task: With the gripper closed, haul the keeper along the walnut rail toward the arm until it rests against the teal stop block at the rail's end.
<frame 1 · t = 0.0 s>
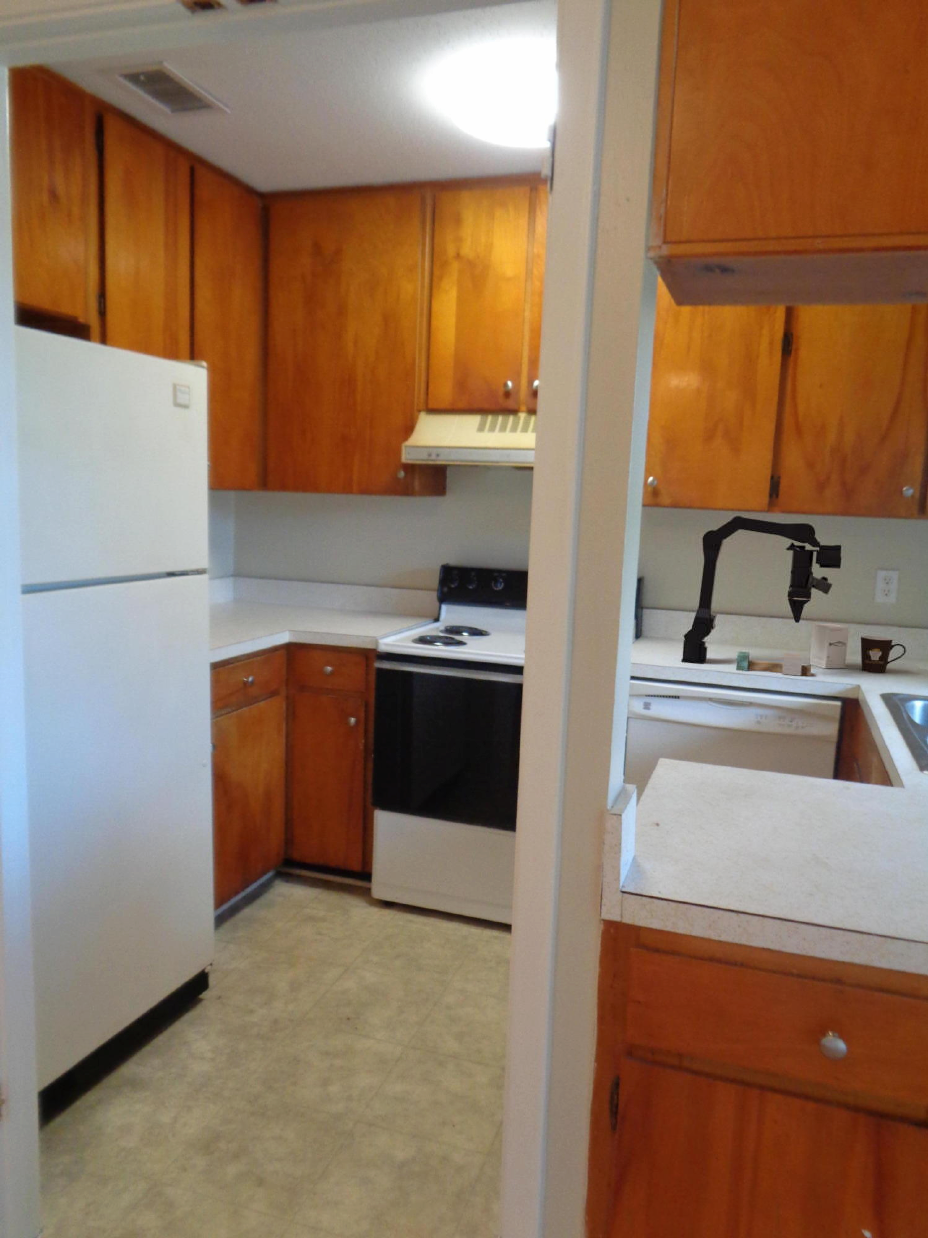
hand: (797, 620, 259), 15 cm above the worktop, tool pointing down, fingers open, 9 cm apart
track: (773, 671, 258), on the worktop
keeper: (792, 664, 256), point 3 cm above the worktop, slide at 0.0 cm
coffee mug: (878, 672, 264), on the worktop
supplement box: (827, 667, 271), on the worktop
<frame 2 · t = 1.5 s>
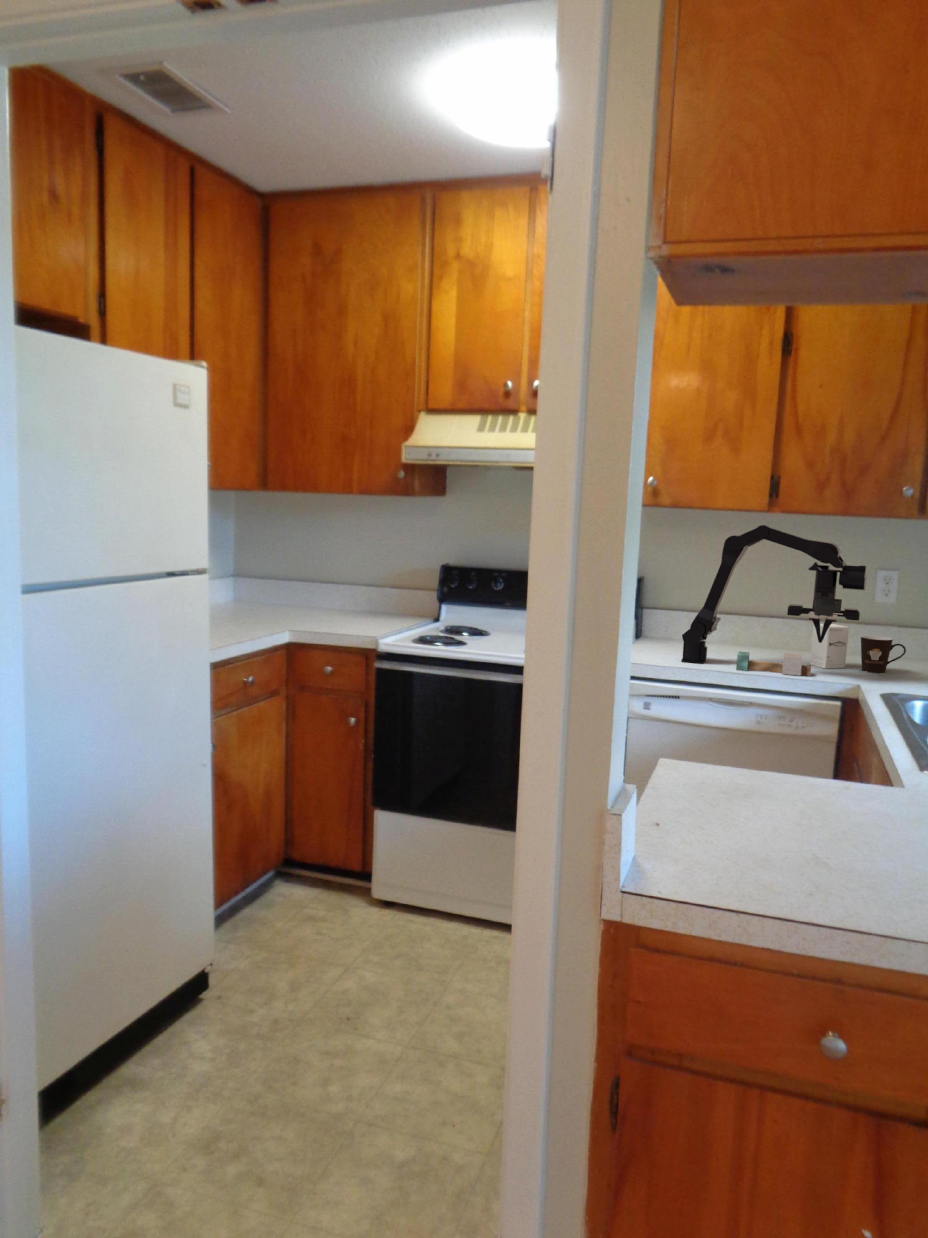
hand: (820, 642, 253), 10 cm above the worktop, tool pointing down, fingers closed
nothing on the worktop moved.
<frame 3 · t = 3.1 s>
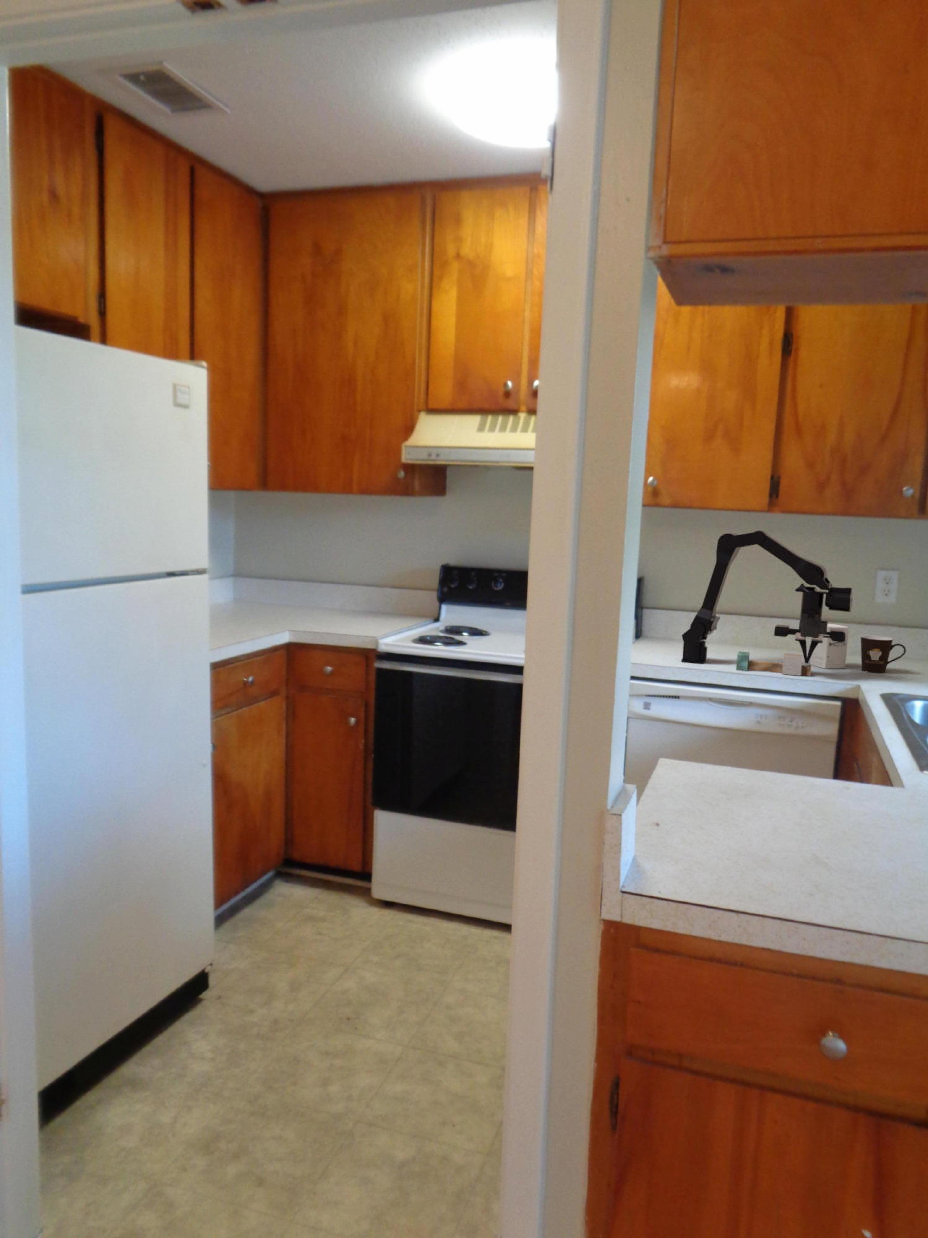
hand: (806, 663, 255), 3 cm above the worktop, tool pointing down, fingers closed
keeper: (792, 664, 256), point 3 cm above the worktop, slide at 0.0 cm, touching gripper
everything else where it was.
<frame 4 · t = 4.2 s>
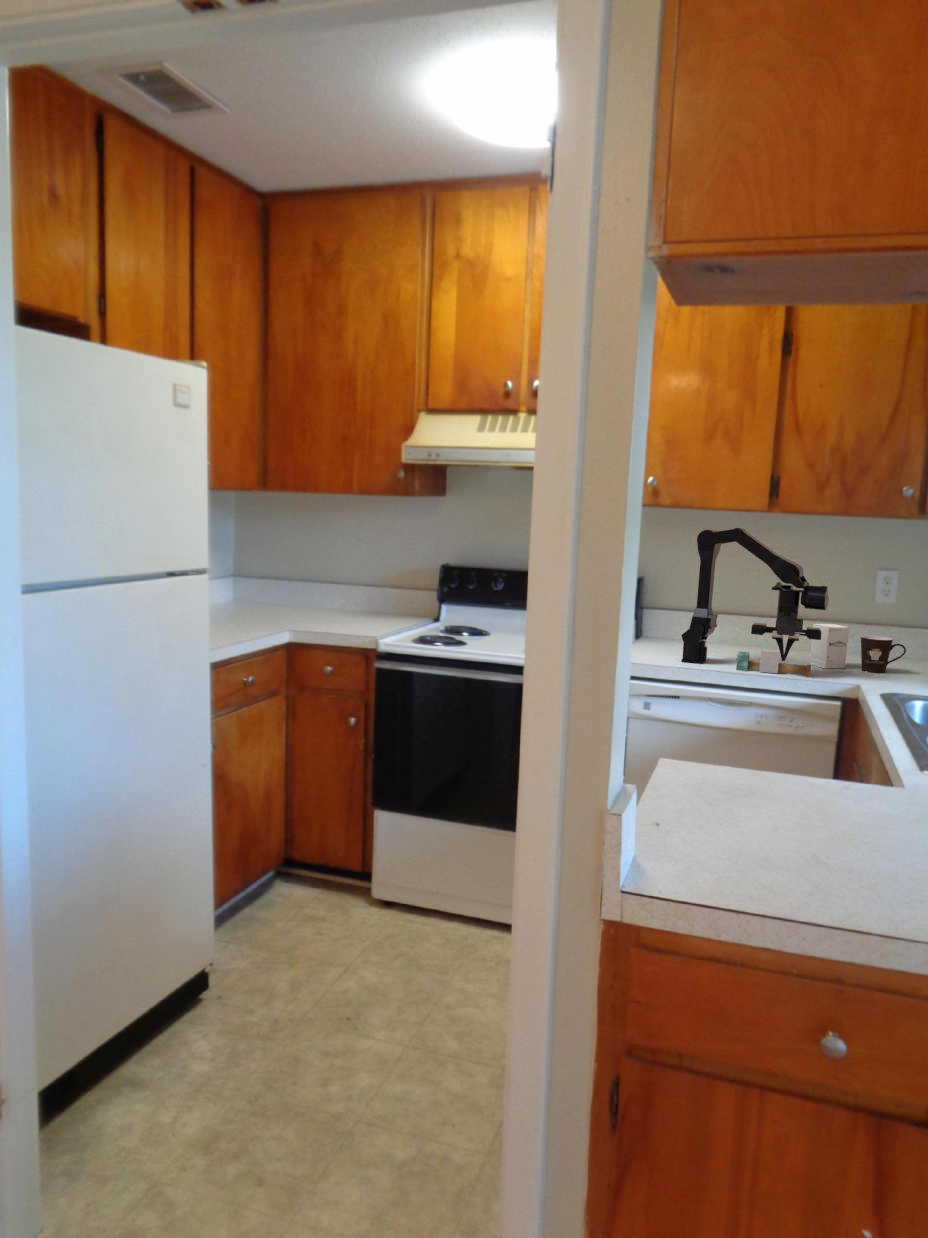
hand: (783, 661, 257), 3 cm above the worktop, tool pointing down, fingers closed
keeper: (769, 662, 258), point 3 cm above the worktop, slide at 6.2 cm, touching gripper
everything else where it was.
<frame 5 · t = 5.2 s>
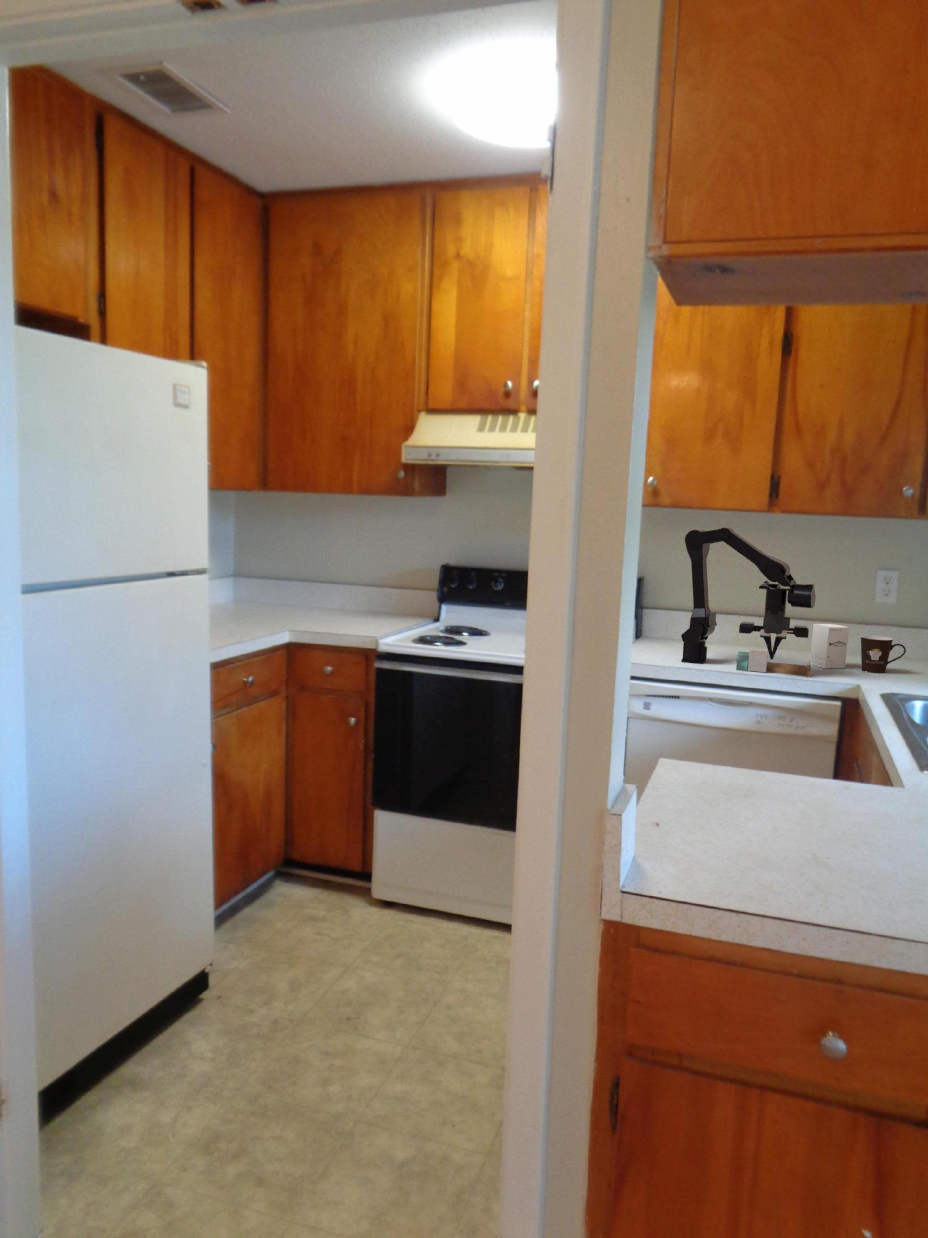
hand: (771, 659, 258), 4 cm above the worktop, tool pointing down, fingers closed
keeper: (758, 660, 259), point 3 cm above the worktop, slide at 9.3 cm, touching gripper
everything else where it was.
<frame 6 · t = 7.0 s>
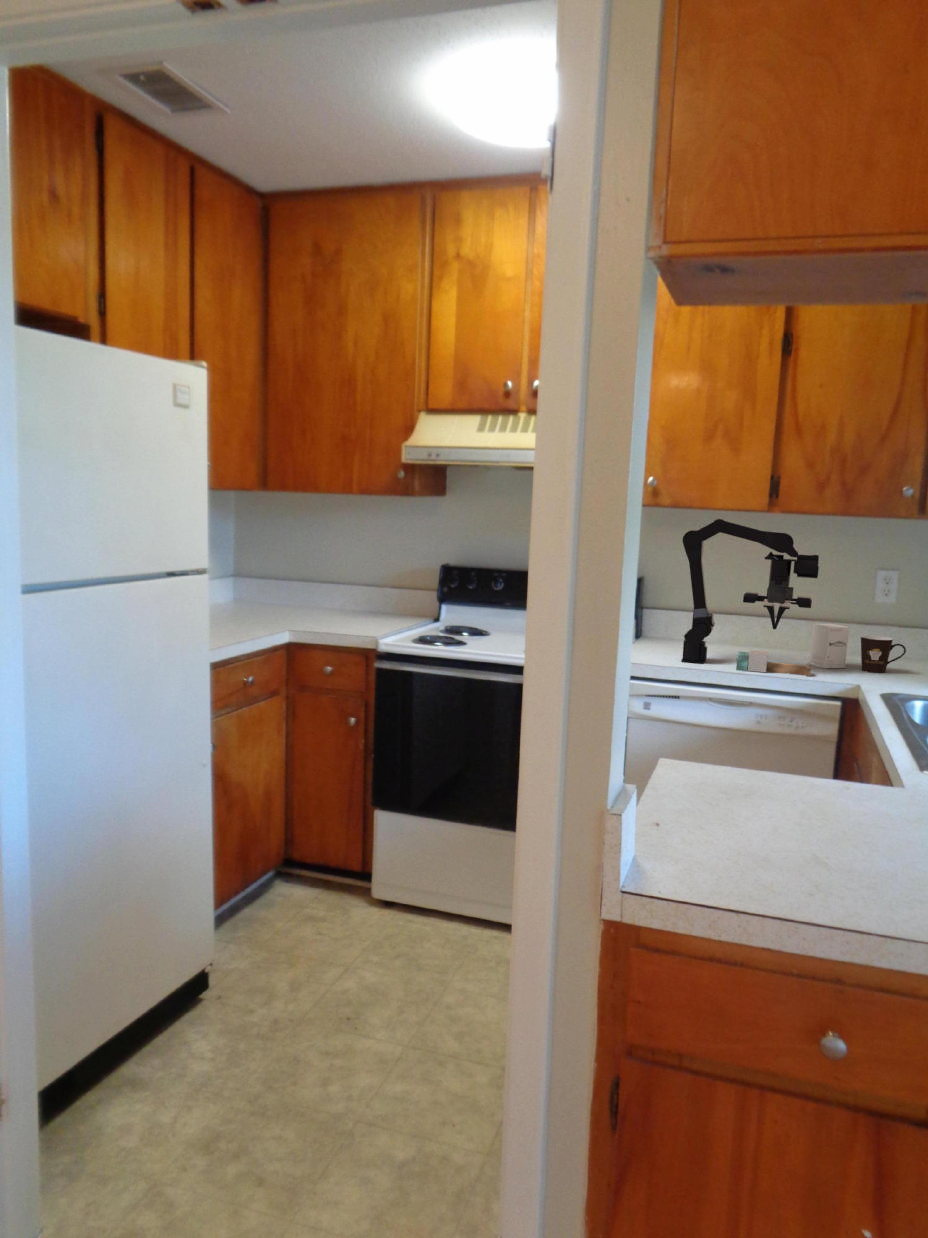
hand: (774, 629, 262), 12 cm above the worktop, tool pointing down, fingers closed
keeper: (758, 660, 259), point 3 cm above the worktop, slide at 9.3 cm
everything else where it was.
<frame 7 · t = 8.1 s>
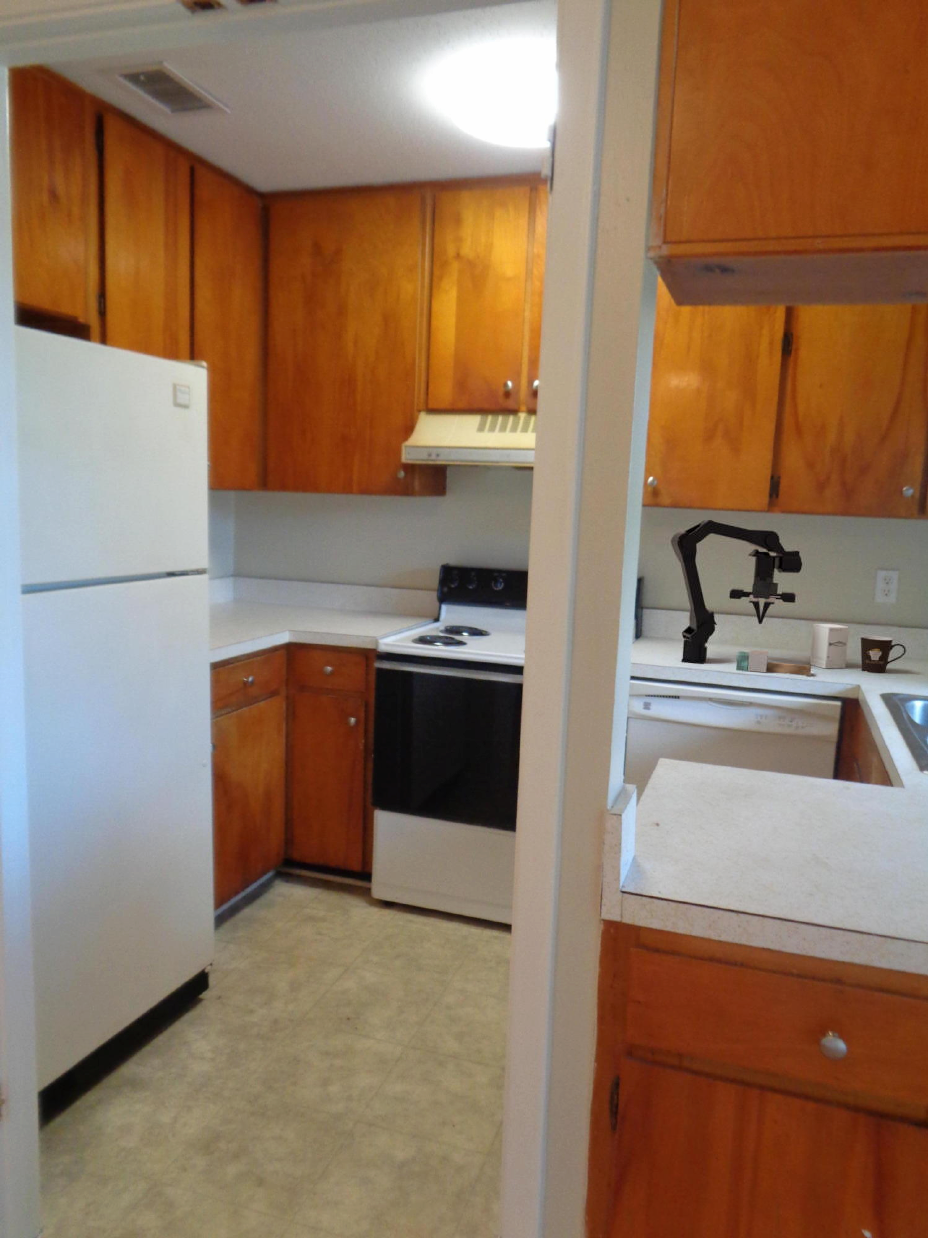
hand: (760, 623, 270), 12 cm above the worktop, tool pointing down, fingers closed
nothing on the worktop moved.
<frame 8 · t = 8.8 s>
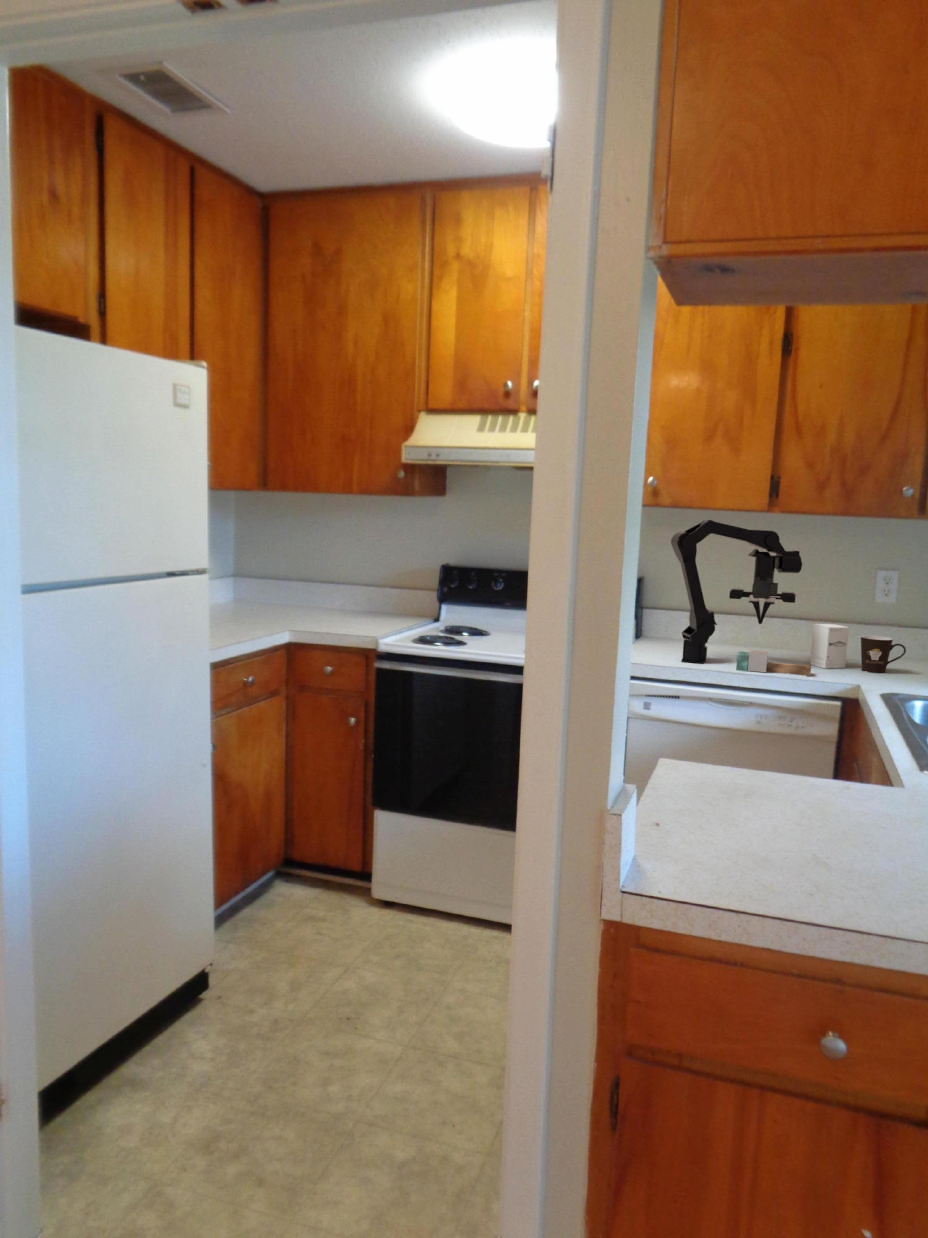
hand: (760, 623, 270), 12 cm above the worktop, tool pointing down, fingers closed
nothing on the worktop moved.
at the end: keeper slide at 9.3 cm; the gripper is holding nothing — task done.
